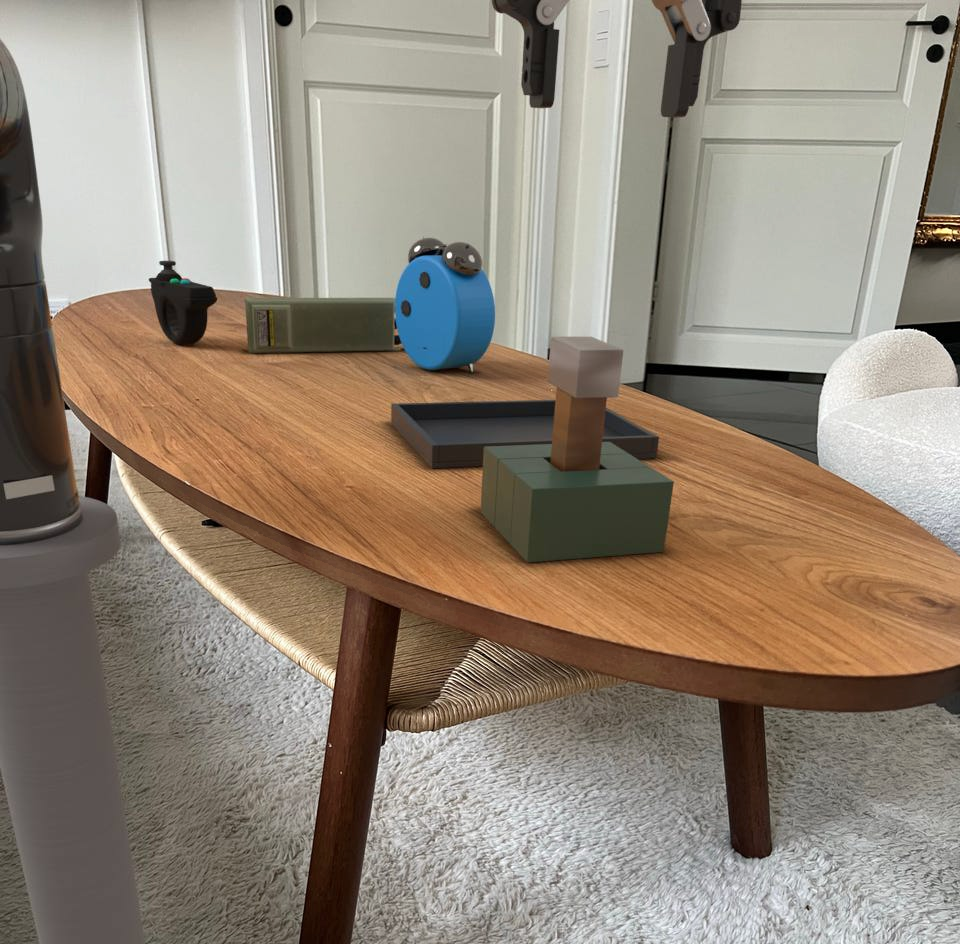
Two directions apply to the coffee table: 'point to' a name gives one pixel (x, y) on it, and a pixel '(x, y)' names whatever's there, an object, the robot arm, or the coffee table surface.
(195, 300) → the controller
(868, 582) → the coffee table surface
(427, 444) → the tray
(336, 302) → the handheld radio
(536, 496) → the holder
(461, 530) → the coffee table surface
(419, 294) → the alarm clock
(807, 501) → the coffee table surface
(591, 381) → the brown and grey block
